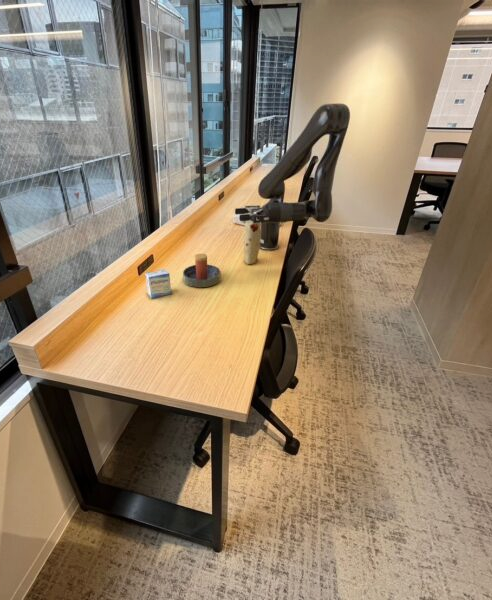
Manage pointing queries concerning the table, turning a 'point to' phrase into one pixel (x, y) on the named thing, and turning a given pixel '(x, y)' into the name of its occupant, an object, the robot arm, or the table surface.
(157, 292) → the medicine box
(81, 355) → the table surface
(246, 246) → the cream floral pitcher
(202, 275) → the pill bottle
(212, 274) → the bowl
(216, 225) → the table surface
